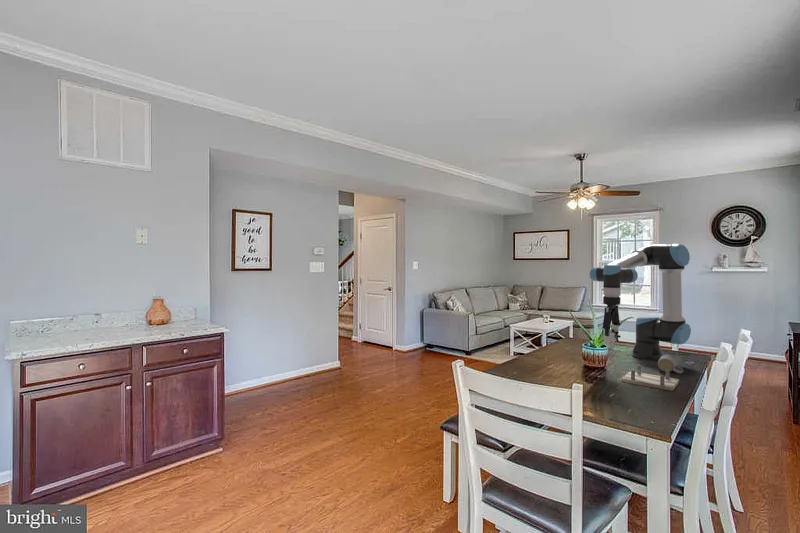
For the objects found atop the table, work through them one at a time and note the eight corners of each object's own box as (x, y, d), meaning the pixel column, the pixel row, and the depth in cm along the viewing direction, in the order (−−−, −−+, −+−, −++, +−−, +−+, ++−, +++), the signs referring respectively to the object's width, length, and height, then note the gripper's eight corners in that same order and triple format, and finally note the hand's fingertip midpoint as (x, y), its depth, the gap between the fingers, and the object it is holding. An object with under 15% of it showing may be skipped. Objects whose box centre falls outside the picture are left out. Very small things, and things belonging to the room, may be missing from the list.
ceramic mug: (656, 371, 208) (657, 356, 208) (659, 367, 214) (660, 353, 214) (681, 375, 201) (682, 360, 201) (684, 372, 207) (684, 356, 207)
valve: (617, 348, 194) (620, 343, 204) (617, 334, 194) (620, 329, 204) (602, 346, 198) (605, 341, 208) (602, 332, 198) (605, 328, 208)
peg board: (630, 373, 203) (630, 362, 203) (679, 382, 189) (679, 370, 189) (621, 381, 191) (621, 369, 191) (672, 391, 178) (672, 378, 178)
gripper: (610, 293, 212) (610, 335, 213) (595, 297, 194) (595, 343, 195) (626, 294, 207) (626, 337, 208) (612, 298, 189) (612, 345, 190)
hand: (611, 340), depth 201 cm, fingers closed on valve, 12 cm apart
